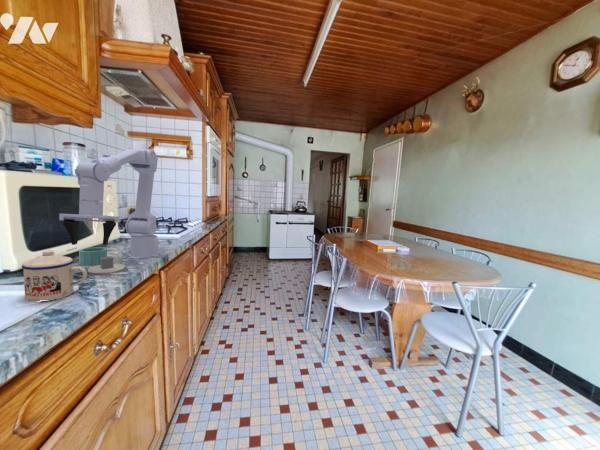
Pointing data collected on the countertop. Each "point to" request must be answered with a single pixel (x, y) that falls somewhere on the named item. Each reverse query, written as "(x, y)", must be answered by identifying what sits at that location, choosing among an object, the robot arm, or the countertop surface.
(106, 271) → the lid
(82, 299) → the countertop surface
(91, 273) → the mat
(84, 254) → the bowl
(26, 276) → the teacup with lid
